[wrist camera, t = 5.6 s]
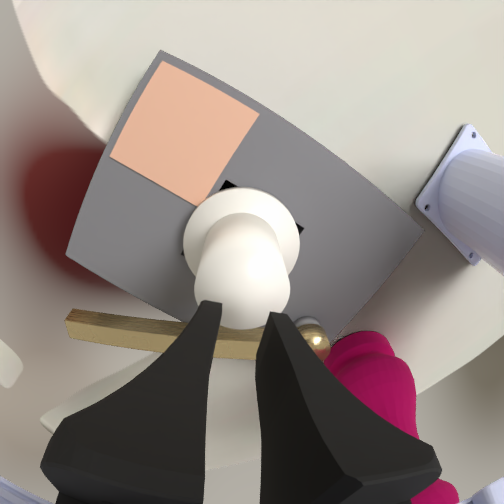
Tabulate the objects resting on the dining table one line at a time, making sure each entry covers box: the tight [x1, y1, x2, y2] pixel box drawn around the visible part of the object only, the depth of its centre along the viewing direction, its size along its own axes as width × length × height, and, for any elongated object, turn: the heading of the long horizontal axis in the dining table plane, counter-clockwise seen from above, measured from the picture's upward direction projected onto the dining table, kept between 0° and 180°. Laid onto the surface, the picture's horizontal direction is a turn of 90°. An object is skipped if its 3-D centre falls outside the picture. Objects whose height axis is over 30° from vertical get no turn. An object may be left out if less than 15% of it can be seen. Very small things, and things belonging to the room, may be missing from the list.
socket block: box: [66, 50, 425, 343], centre depth 18 cm, size 19×14×3 cm
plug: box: [183, 187, 300, 330], centre depth 16 cm, size 6×6×7 cm
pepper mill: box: [324, 331, 459, 504], centre depth 16 cm, size 7×7×20 cm
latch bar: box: [65, 309, 331, 361], centre depth 18 cm, size 17×2×1 cm, turn 85°
